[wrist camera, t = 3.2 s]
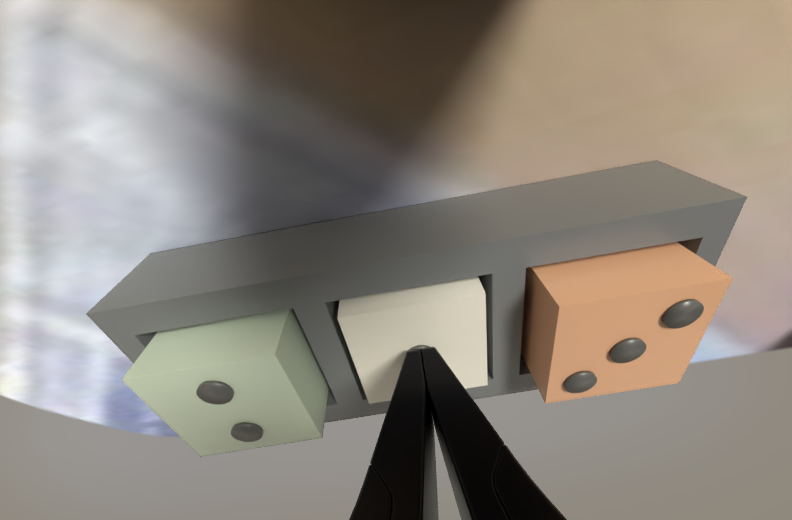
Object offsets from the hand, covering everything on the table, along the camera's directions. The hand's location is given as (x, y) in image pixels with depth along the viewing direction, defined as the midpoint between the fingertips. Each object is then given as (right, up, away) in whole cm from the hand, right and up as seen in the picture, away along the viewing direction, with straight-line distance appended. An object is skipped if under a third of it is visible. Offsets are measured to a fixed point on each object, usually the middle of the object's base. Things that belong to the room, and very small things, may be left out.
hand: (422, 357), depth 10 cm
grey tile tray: (0, +2, +3) cm, 4 cm away
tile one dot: (0, +1, +2) cm, 3 cm away
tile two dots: (-6, 0, +2) cm, 6 cm away
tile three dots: (+5, +2, +1) cm, 6 cm away
